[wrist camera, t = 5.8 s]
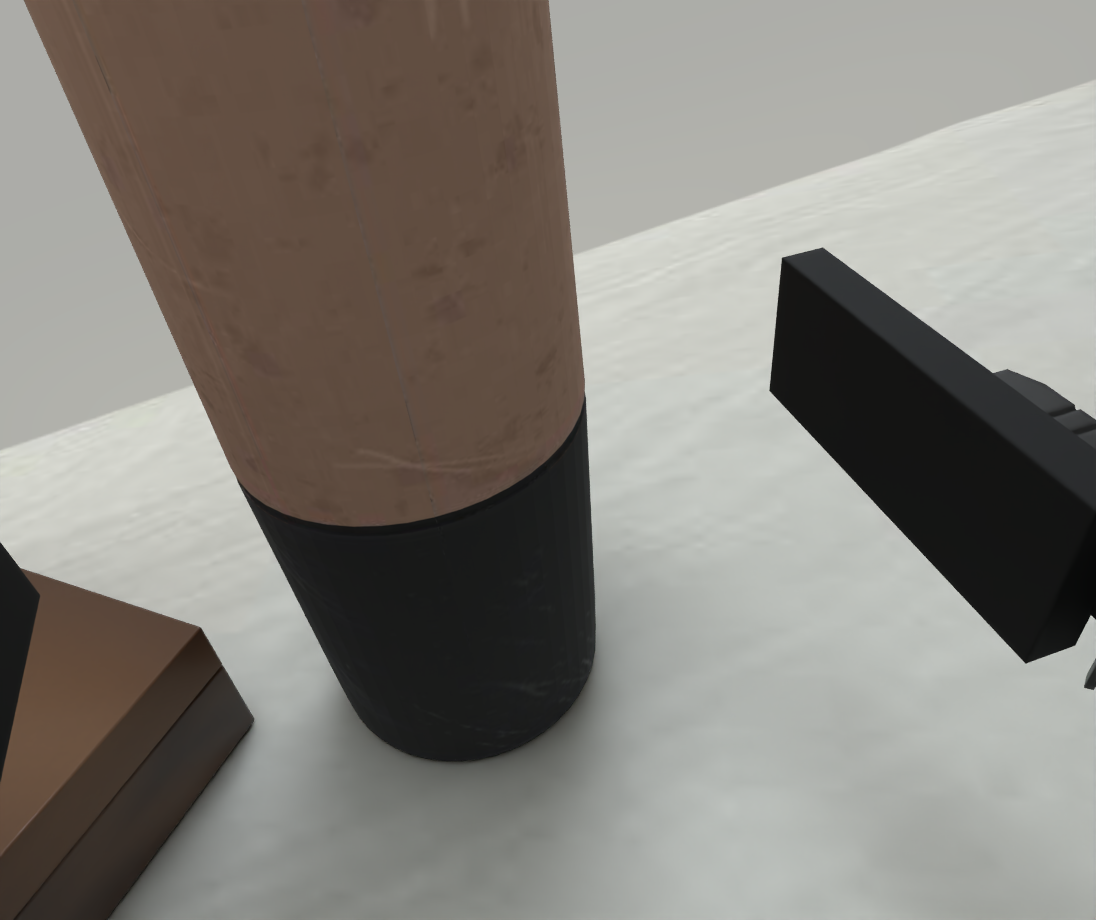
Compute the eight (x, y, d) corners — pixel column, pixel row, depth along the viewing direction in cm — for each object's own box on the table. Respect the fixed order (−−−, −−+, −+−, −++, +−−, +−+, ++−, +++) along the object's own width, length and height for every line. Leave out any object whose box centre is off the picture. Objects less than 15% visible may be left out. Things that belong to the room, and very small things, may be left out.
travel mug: (295, 763, 21) (-295, -287, 8) (380, 544, 27) (109, -276, 14) (593, 785, 20) (448, -407, 7) (615, 551, 26) (557, -343, 13)
